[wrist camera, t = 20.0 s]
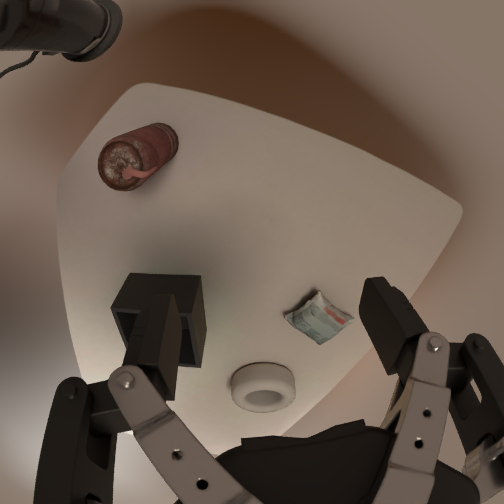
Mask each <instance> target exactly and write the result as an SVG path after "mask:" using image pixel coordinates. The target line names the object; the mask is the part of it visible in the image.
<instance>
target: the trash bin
mask: <svg viewBox="0 0 504 504" xmlns="http://www.w3.org/2000/svg"><path fill="white" fill-rule="evenodd" d="M167 294H173V295H174V297H175V301H176V305H177V309H178V313H179V317H180V320H181V326H182V338H181V346H180V354H179V362H178V366H183V367H197V368H201V363H202V357H203V351H204V344H205V338H206V332H207V327H206V319H205V310H204V301H203V292H202V282H201V276H195V275H165V274H141V273H130V274H129V275H128V277H127V279H126V280H125V282H124V284H123V286H122V287H121V289H120V291H119V293H118V295H117V296H116V298H115V300H114V302H113V304H112V306H111V311H112V313H113V316H114V319H115V322H116V324H117V327H118V329H119V332H120V335H121V337H122V340H123V342H124V344H125V347H126V349H127V346H128V343H129V339H130V336H131V333H132V329H133V328H134V327H133V326H134V323H135V320H136V317H137V315H138V314H139V313H140V312H141V311H142V309H143V308H151V306H152V302H153V299H154V296H155V295H167Z"/></svg>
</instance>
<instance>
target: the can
mask: <svg viewBox="0 0 504 504" xmlns="http://www.w3.org/2000/svg"><path fill="white" fill-rule="evenodd" d="M178 144H179V143H178V136H177V134H176V133H175V131H174V130H173V129H172V128H171V127H170V126H168V125H166V124H164V123H155V124H151V125H148V126H145V127H142V128H139V129H136V130H133V131H130V132H128V133H125V134H122V135H120V136H117V137H115V138H113V139H111V140H110V141H108V142H107V143H106V144H105V146H104V147H103V148H102V150H101V153H100V155H99V158H98V171H99V175H100V177H101V179H102V180H103V182H104V183H105V184H106V185H107V186H108V187H110V188H112V189H114V190H118V191H131V190H134V189H136V188H138V187H139V186H141V185H142V184H143V183H144V182H145V181H146V180H147V179H148V178H150V177H151V176H152V175H153V174H154V173H155V172H156V171H158V170H159V169H160V168H161V167H162V166H163V165H165V164H166V163H167V162H168V161H169V160H171V158H172V157H173V156H174V155H175V154H176V152H177V150H178Z"/></svg>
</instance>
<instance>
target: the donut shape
mask: <svg viewBox="0 0 504 504" xmlns="http://www.w3.org/2000/svg"><path fill="white" fill-rule="evenodd" d="M231 395H232V399H233V401H234V403H235V404H236V405H237V406H239V407H240V408H242V409H244V410H247V411H251V412H257V413H267V412H274V411H278V410H281V409H283V408H285V407H287V406H288V405H290V404H291V403H292V402H293V400H294V398H295V396H296V389H295V380H294V376H293V374H292V373H291V372H290V371H289V370H288V369H287V368H285V367H283V366H280V365H277V364H272V363H258V364H252V365H249V366H246V367H244V368H242V369H240V370H239V371H238V372H237V373H236V374H235V375H234V377H233V379H232V393H231Z"/></svg>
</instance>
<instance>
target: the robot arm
mask: <svg viewBox="0 0 504 504" xmlns="http://www.w3.org/2000/svg"><path fill="white" fill-rule="evenodd" d="M110 26H111V13H110V11H109V9H108V8H107V7H106V6H105V5H103V4H100V3H97V2H94V1H92V0H0V51H34V52H33V53H32V55H31V57H30V58H29V59H28V60H26V61H25V62H22V63H19V64H16V65H14V66H11V67H9V68H7V69H6V70H4V71H3V72H1V73H0V78H1V77H2V76H4V75H5V74H6V73H8V72H10V71H13V70H15V69H18V68H21V67H24V66H26V65H28V64H29V63H31V62H32V61H33V60H34V58H35V56H36V55H37V54H38V53H39V52H40V51H42V52H43V53H42V55H55V54H58V53H60V52H62V53H70V54H76V55H81V54H85V53H88V52H90V51H92V50H93V49H95V48H96V47H97V46H98V45H99V44H100V43H101V42H102V41H103V40H104V39H105V37H106V35H107V34H108V32H109V29H110ZM359 315H360V319H361V321H362V323H363V325H364V327H365V329H366V331H367V333H368V335H369V337H370V339H371V341H372V343H373V345H374V347H375V349H376V351H377V353H378V355H379V358H380V360H381V362H382V364H383V366H384V368H385V370H386V373H387V375H392V374H396V373H397V374H398V376H399V378H398V380H397V383H396V386H395V390H394V393H393V396H392V399H391V402H390V405H389V408H388V411H387V414H386V416H385V418H384V420H383V422H382V424H381V426H380V428H379V427H373V426H365V422H364V419H361V420H357V421H353V422H349V423H344V424H340V425H335V426H333V427H331V428H329V429H327V430H325V431H323V432H320V433H318V434H316V435H313V436H311V437H308V438H293V437H282V436H263V437H252V438H241V444H242V445H241V446H238V447H235V448H232V449H230V450H228V451H226V452H224V453H222V454H221V455H219V456H218V457H216V458H214V457H213V456H212V455H211V454H210V453H209V452H208V451H207V450H206V449H205V447H204V446H203V445H202V444H201V443H200V442H199V441H198V440H197V438H196V437H195V436H194V435H193V434H192V433H191V431H190V430H189V429H188V428H187V427H186V425H185V424H184V423H183V422H182V421H181V419H180V418H179V417H178V416H177V414H176V413H175V412H174V411H172V410H171V409H170V408H169V407H168V405H167V404H166V400H168V401H174V400H175V390H176V380H177V371H178V362H179V354H180V346H181V338H182V326H181V320H180V317H179V313H178V309H177V305H176V301H175V297H174V295H173V294H167V295H155V296H154V299H153V302H152V306H151V308H143V309H142V311H141V312H140V313H139V314H138V315H137V317H136V320H135V323H134V326H133V327H134V328H133V329H132V333H131V336H130V339H129V343H128V346H127V350H126V353H125V357H124V360H123V364H122V367H119V368H117V369H116V370H115V371H113V373H112V374H111V375H110V377H109V379H108V380H105V381H102V382H97V383H92V384H88V385H87V384H86V382H85V381H84V380H83V379H81V378H79V377H70V378H67V379H65V380H63V381H62V382H61V383H60V384H59V386H58V387H57V390H56V392H55V396H54V399H53V403H52V406H51V410H50V414H49V418H48V422H47V426H46V430H45V434H44V439H43V443H42V448H41V453H40V459H39V464H38V470H37V476H36V483H35V491H34V500H33V504H113V481H114V464H115V453H116V443H117V433H120V432H125V431H130V430H133V432H134V433H133V435H134V437H135V438H136V440H137V442H138V443H139V445H140V446H141V448H142V449H143V451H144V452H145V454H146V455H147V457H148V458H149V460H150V461H151V463H152V464H153V465H154V467H155V468H156V470H157V471H158V472H159V474H160V475H161V476H162V478H163V479H164V480H165V482H166V483H167V484H168V485H169V487H170V488H171V489H172V490H173V492H174V493H175V494H176V495H177V497H178V498H179V499H178V500H177V501H176V502H175V503H174V504H482V503H484V502H485V501H487V500H488V499H490V498H491V497H493V496H494V495H496V494H497V493H498V492H500V491H502V490H504V365H503V363H502V362H501V360H500V359H499V357H498V355H497V354H496V352H495V351H494V349H493V347H492V346H491V344H490V343H489V341H488V340H487V339H486V338H485V337H484V336H482V335H480V334H476V333H472V334H469V335H468V336H467V337H466V339H465V341H464V342H463V343H449V342H448V341H447V340H446V338H445V337H443V336H442V335H441V334H439V333H436V332H430V331H429V330H428V328H427V327H426V325H425V324H424V322H423V321H422V319H421V318H420V316H419V315H418V313H417V312H416V311H415V309H413V306H412V305H411V303H409V300H408V299H407V298H406V296H405V295H404V293H403V292H401V291H400V290H398V289H397V288H396V287H394V286H393V287H391V286H390V284H389V283H388V282H387V280H386V279H385V278H384V277H383V276H381V277H373V278H367V279H366V280H365V283H364V287H363V292H362V296H361V300H360V304H359ZM472 379H474V381H475V383H476V384H477V386H478V389H479V391H480V393H481V396H482V400H481V403H480V402H479V400H478V398H477V396H476V394H475V392H474V390H473V388H472V386H471V384H470V382H471V381H472ZM448 409H449V412H450V413H451V416H452V418H453V421H454V424H455V426H456V429H457V431H458V434H459V436H460V439H461V442H462V445H463V447H464V450H465V453H466V459H465V465H464V466H463V468H462V473H461V472H459V471H457V470H455V469H453V468H451V467H450V466H448V465H446V464H444V463H443V462H441V461H439V460H438V459H437V458H438V454H439V450H440V447H441V442H442V438H443V433H444V429H445V424H446V419H447V414H448Z"/></svg>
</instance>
